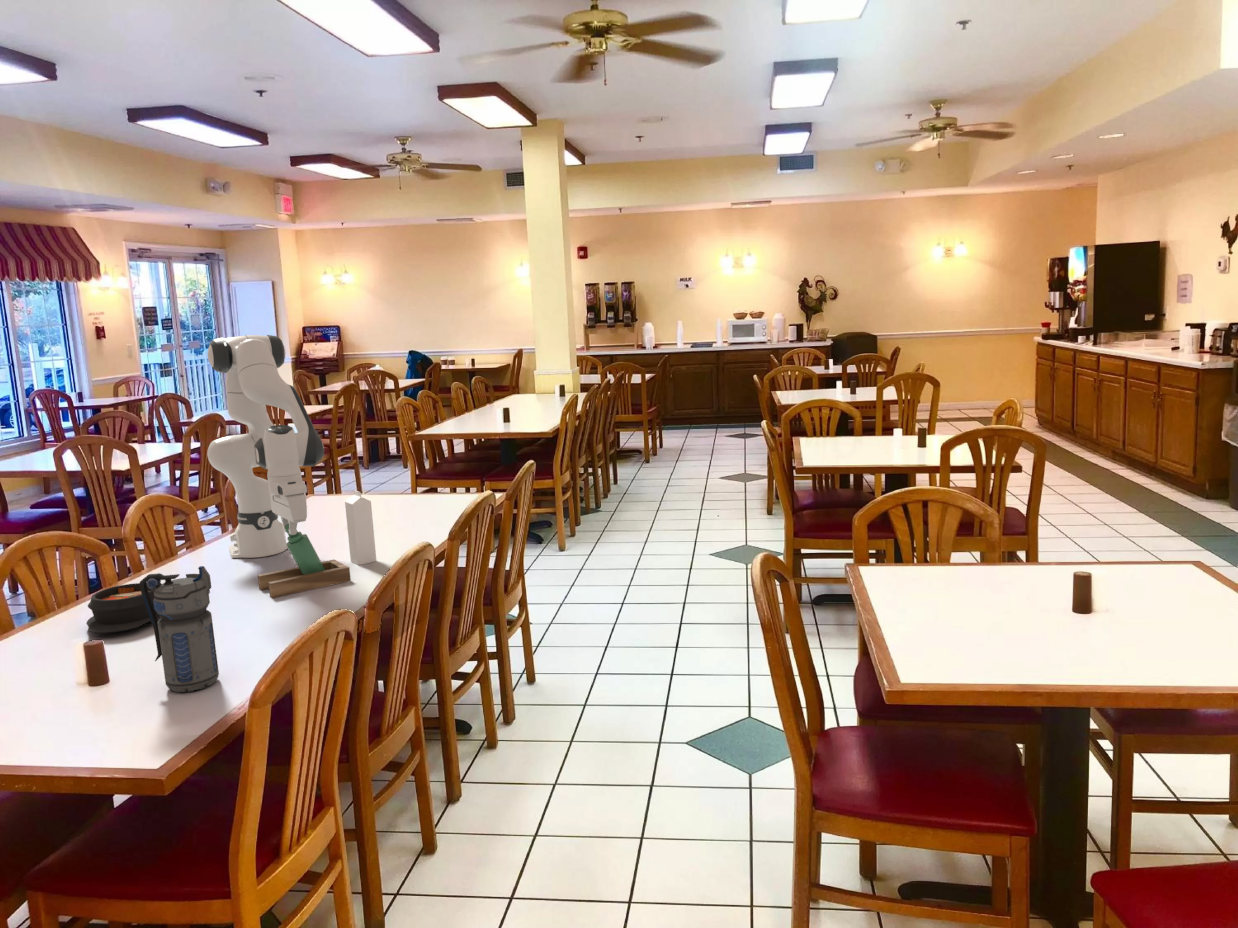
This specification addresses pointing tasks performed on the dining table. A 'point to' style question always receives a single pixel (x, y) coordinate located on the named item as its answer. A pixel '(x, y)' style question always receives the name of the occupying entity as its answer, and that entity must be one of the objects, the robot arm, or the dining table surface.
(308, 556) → the bottle
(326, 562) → the u rest
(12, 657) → the dining table surface
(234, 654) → the dining table surface
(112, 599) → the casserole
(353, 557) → the milk
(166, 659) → the blue striped grenade
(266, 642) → the dining table surface
